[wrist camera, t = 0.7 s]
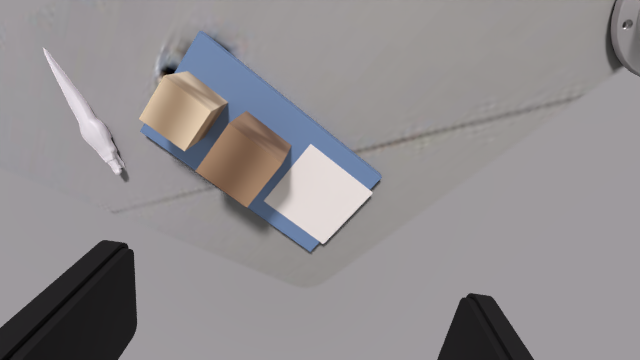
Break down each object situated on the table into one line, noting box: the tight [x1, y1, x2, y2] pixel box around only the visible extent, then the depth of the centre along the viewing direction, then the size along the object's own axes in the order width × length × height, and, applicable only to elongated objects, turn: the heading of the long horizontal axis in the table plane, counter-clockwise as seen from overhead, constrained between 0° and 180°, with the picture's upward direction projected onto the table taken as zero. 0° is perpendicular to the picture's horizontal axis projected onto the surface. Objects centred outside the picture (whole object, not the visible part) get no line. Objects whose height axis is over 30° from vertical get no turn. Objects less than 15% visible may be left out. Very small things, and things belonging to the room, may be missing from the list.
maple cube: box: [139, 71, 228, 151], centre depth 34 cm, size 5×5×5 cm
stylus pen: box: [43, 48, 125, 175], centre depth 38 cm, size 15×3×2 cm, turn 23°
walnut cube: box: [196, 111, 292, 207], centre depth 35 cm, size 6×6×6 cm
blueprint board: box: [140, 31, 382, 252], centre depth 38 cm, size 24×13×1 cm, turn 51°
